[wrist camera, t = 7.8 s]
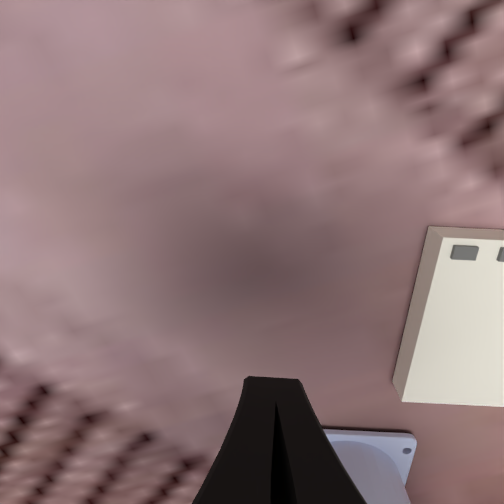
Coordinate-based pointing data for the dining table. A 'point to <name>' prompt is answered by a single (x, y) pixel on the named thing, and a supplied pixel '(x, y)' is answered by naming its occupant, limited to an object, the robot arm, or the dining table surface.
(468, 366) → the cream flat rectangular block
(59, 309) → the dining table surface
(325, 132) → the dining table surface
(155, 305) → the dining table surface
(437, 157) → the dining table surface
